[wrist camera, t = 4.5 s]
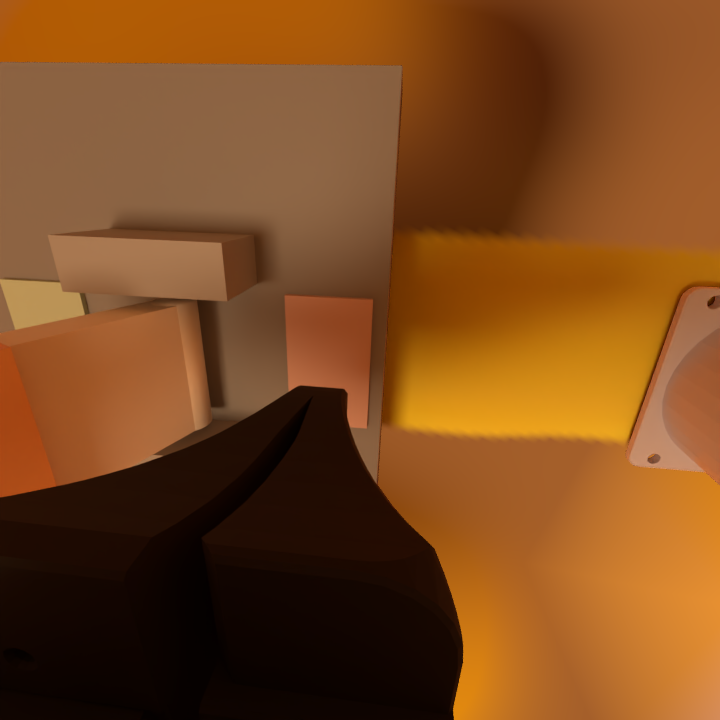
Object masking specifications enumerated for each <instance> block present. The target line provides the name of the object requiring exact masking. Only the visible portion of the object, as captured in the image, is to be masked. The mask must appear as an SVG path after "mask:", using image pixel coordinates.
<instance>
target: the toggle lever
mask: <svg viewBox="0 0 720 720" xmlns="http://www.w3.org/2000/svg"><path fill="white" fill-rule="evenodd" d="M211 421H212V412H211V404H210V397H209V389H208V381H207V374H206V366H205V358H204V351H203V343H202V335H201V328H200V320H199V312H198V305H197V300H194V299H177V298H158V299H154V300H152V301H147V302H143V303H138V304H133V305H129V306H124V307H119V308H115V309H110V310H106V311H101V312H96V313H92V314H87V315H82V316H78V317H73V318H68V319H64V320H59V321H54V322H50V323H45V324H40V325H36V326H31V327H26V328H22V329H17V330H12V331H8V332H3V333H0V497H6V496H11V495H16V494H21V493H26V492H31V491H36V490H40V489H45V488H50V487H55V486H60V485H65V484H69V483H74V482H78V481H82V480H86V479H90V478H94V477H97V476H101V475H105V474H109V473H112V472H116V471H119V470H123V469H126V468H129V467H132V466H134V465H135V464H137V463H139V462H141V461H142V460H144V459H146V458H148V457H150V456H151V455H153V454H155V453H157V452H158V451H160V450H162V449H164V448H166V447H167V446H169V445H171V444H173V443H174V442H176V441H178V440H180V439H181V438H183V437H185V436H187V435H189V434H190V433H192V432H194V431H196V430H199V429H202V428H204V427H206V426H208V425H209V424H210V423H211Z"/></svg>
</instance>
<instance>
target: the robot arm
mask: <svg viewBox="0 0 720 720" xmlns="http://www.w3.org/2000/svg"><path fill="white" fill-rule="evenodd" d="M713 296H715V301H714V302H713V304H711V305H710V306H707V302H708V300H709V299H710V298H711V297H713ZM347 403H348V393H347V392H346V391H345V389H341V388H328V387H315V386H302V385H299V386H297V387H295V388H294V389H292V390H290V391H289V392H287V393H286V394H284V395H283V396H281V397H280V398H278V399H276V400H275V401H273V402H272V403H270V404H269V405H267V406H265V407H264V408H262V409H261V410H259V411H257V412H256V413H254V414H252V415H251V416H249V417H247V418H245V419H243V420H242V421H240V422H238V423H236V424H234V425H233V426H231V427H229V428H227V429H225V430H224V431H222V432H220V433H218V434H215V435H213V436H211V437H209V438H207V439H205V440H202V441H200V442H198V443H196V444H193V445H191V446H189V447H186V448H184V449H181V450H179V451H176V452H173V453H170V454H167V455H165V456H162V457H159V458H156V459H153V460H151V461H148V462H145V463H142V464H139V465H136V466H133V467H129V468H126V469H123V470H119V471H116V472H112V473H109V474H105V475H101V476H97V477H94V478H90V479H86V480H82V481H78V482H74V483H69V484H65V485H60V486H55V487H50V488H45V489H40V490H36V491H31V492H26V493H21V494H16V495H11V496H6V497H0V720H454V716H453V706H454V701H455V697H456V692H457V687H458V683H459V678H460V673H461V668H462V664H463V641H462V634H461V629H460V625H459V620H458V616H457V612H456V608H455V605H454V602H453V598H452V595H451V592H450V589H449V586H448V583H447V580H446V577H445V575H444V572H443V569H442V567H441V564H440V561H439V559H438V556H437V554H436V552H435V549H434V548H433V547H432V546H431V545H430V544H429V543H428V542H427V541H426V540H425V539H424V538H423V537H422V536H421V535H419V534H418V532H416V531H415V530H414V529H413V528H412V527H411V526H410V525H409V524H408V523H407V522H406V521H405V520H404V518H403V517H402V516H401V515H400V514H399V513H398V512H397V510H396V509H395V508H394V507H393V506H392V504H391V503H390V502H389V500H388V499H387V497H386V496H385V495H384V493H383V492H382V491H381V489H380V488H379V486H378V485H377V484H376V482H375V481H374V479H373V477H372V476H371V474H370V472H369V471H368V469H367V467H366V465H365V463H364V461H363V459H362V457H361V455H360V453H359V451H358V449H357V446H356V444H355V441H354V438H353V436H352V433H351V429H350V426H349V422H348V418H347ZM652 454H655V455H654V456H653V457H651V458H648V457H649V456H650V455H652ZM626 458H627V459H628V461H629V462H630V463H631V464H633V465H634V466H639V467H651V468H662V469H675V470H686V471H697V472H706V473H707V474H708V475H709V476H710V477H711V478H713V479H714V480H715V481H716V482H717V483H718V484H719V485H720V287H704V286H697V287H692V288H690V289H688V290H687V291H686V292H685V293H683V295H682V297H681V298H680V301H679V304H678V307H677V309H676V312H675V315H674V318H673V321H672V324H671V326H670V329H669V332H668V335H667V338H666V340H665V343H664V346H663V349H662V352H661V355H660V357H659V360H658V363H657V366H656V369H655V371H654V374H653V377H652V380H651V383H650V386H649V388H648V391H647V394H646V397H645V400H644V403H643V405H642V408H641V411H640V414H639V417H638V419H637V422H636V425H635V428H634V431H633V434H632V436H631V439H630V442H629V445H628V448H627V451H626Z"/></svg>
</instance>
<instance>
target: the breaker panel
mask: <svg viewBox="0 0 720 720" xmlns="http://www.w3.org/2000/svg"><path fill="white" fill-rule="evenodd" d="M401 105H402V66H387V65H384V66H383V65H382V66H381V65H276V64H275V65H274V64H271V65H269V64H162V63H160V64H159V63H158V64H157V63H49V62H39V63H38V62H0V333H3V332H8V331H12V330H17V329H22V328H26V327H31V326H36V325H40V324H45V323H50V322H54V321H59V320H64V319H68V318H73V317H78V316H82V315H87V314H92V313H96V312H101V311H106V310H110V309H115V308H119V307H124V306H129V305H133V304H138V303H143V302H147V301H152V300H154V299H158V298H177V299H194V300H197V305H198V312H199V320H200V328H201V335H202V343H203V351H204V358H205V366H206V374H207V381H208V389H209V397H210V404H211V412H212V421H211V423H210V424H209V425H208V426H206V427H204V428H202V429H199V430H196V431H194V432H192V433H190V434H189V435H187V436H185V437H183V438H181V439H180V440H178V441H176V442H174V443H173V444H171V445H169V446H167V447H166V448H164V449H162V450H160V451H158V452H157V453H155V454H153V455H151V456H150V457H148V458H146V459H144V460H142V461H141V462H139V463H137V464H135V465H134V466H136V465H139V464H142V463H145V462H148V461H151V460H153V459H156V458H159V457H162V456H165V455H167V454H170V453H173V452H176V451H179V450H181V449H184V448H186V447H189V446H191V445H193V444H196V443H198V442H200V441H202V440H205V439H207V438H209V437H211V436H213V435H215V434H218V433H220V432H222V431H224V430H225V429H227V428H229V427H231V426H233V425H234V424H236V423H238V422H240V421H242V420H243V419H245V418H247V417H249V416H251V415H252V414H254V413H256V412H257V411H259V410H261V409H262V408H264V407H265V406H267V405H269V404H270V403H272V402H273V401H275V400H276V399H278V398H280V397H281V396H283V395H284V394H286V393H287V392H289V391H290V390H292V389H294V388H295V387H297V386H299V385H302V386H315V387H328V388H341V389H345V391H346V392H347V393H348V403H347V418H348V422H349V426H350V429H351V433H352V436H353V438H354V441H355V444H356V446H357V449H358V451H359V453H360V455H361V457H362V459H363V461H364V463H365V465H366V467H367V469H368V471H369V472H370V474H371V476H372V477H373V479H374V481H375V482H376V484H377V485H378V470H379V455H380V440H381V424H382V408H383V392H384V376H385V360H386V344H387V328H388V312H389V296H390V280H391V264H392V248H393V232H394V217H395V201H396V200H395V199H396V185H397V169H398V153H399V137H400V136H399V135H400V120H401ZM132 467H133V466H132Z"/></svg>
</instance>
